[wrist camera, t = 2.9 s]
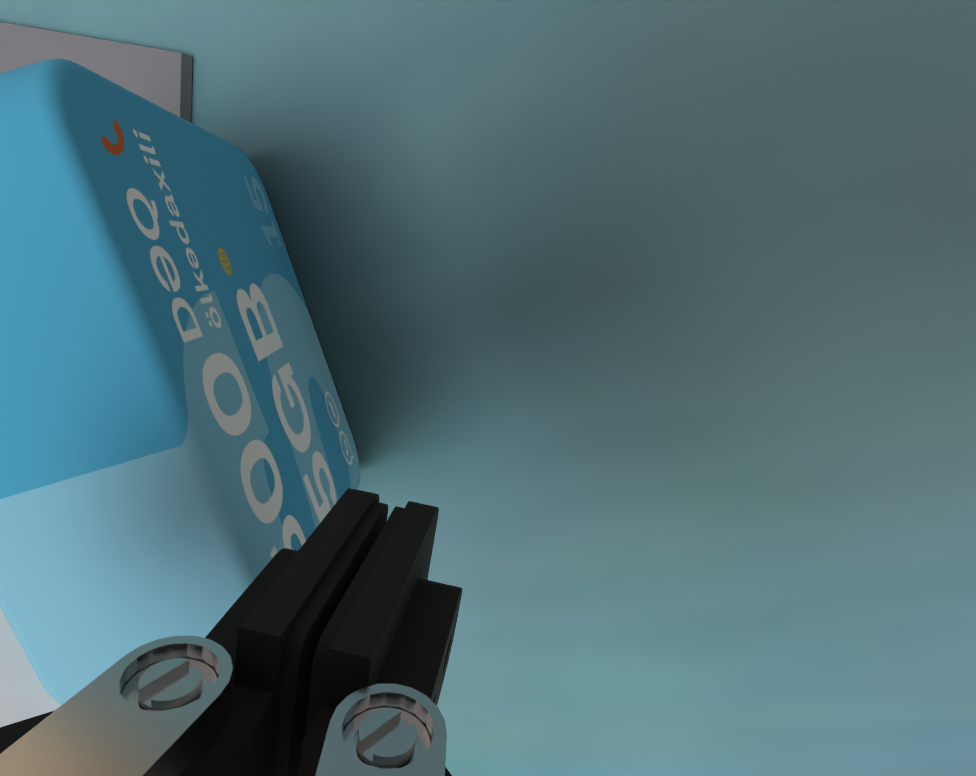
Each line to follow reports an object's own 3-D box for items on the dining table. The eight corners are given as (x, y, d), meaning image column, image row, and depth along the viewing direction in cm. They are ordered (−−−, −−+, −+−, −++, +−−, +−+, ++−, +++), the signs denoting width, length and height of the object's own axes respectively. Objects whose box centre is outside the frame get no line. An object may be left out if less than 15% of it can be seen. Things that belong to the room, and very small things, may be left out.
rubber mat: (192, 57, 20) (181, 52, 20) (180, 532, 26) (171, 539, 25) (-181, -7, 22) (-202, -13, 21) (-119, 459, 27) (-133, 465, 26)
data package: (366, 471, 24) (296, 687, 12) (253, 505, 24) (70, 755, 12) (253, 151, 21) (18, 23, 9) (124, 189, 21) (-279, 107, 9)
